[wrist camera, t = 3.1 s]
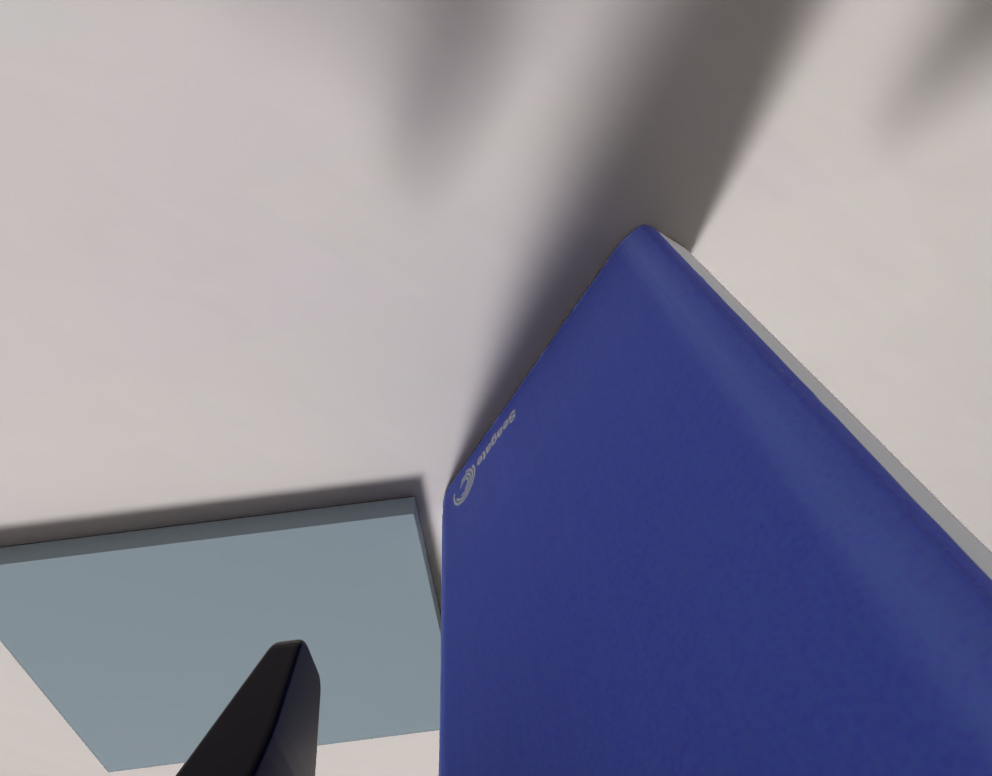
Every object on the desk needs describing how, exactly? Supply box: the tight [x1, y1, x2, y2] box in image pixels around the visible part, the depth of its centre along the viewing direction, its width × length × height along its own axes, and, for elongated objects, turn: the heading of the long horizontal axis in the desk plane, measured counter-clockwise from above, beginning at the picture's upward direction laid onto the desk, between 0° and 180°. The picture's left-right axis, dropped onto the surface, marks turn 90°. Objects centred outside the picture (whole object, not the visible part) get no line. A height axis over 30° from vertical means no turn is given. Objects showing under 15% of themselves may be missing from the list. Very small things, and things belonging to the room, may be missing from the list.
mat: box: [0, 497, 441, 772], centre depth 17 cm, size 11×9×1 cm
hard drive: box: [439, 225, 992, 776], centre depth 8 cm, size 2×8×12 cm, turn 149°
